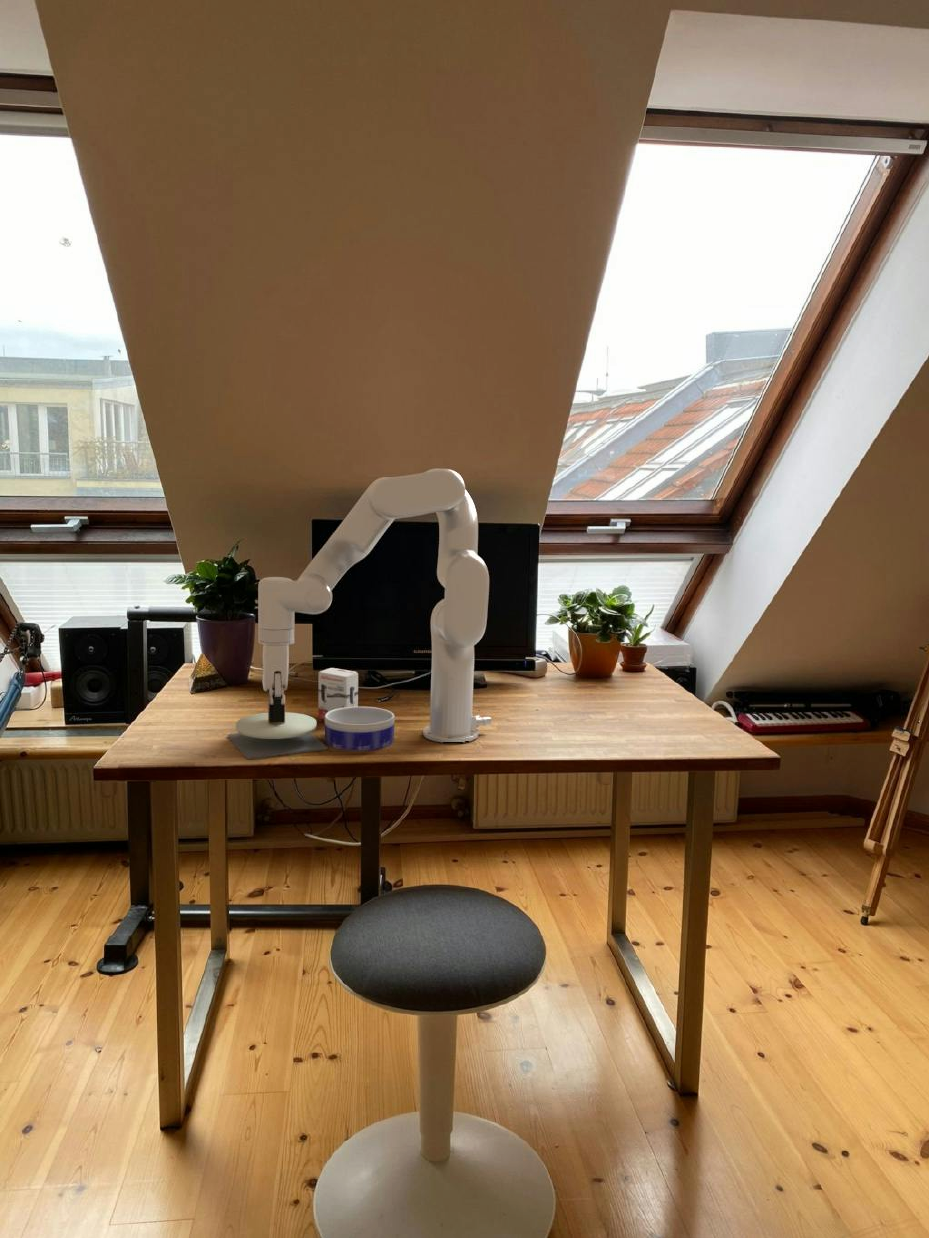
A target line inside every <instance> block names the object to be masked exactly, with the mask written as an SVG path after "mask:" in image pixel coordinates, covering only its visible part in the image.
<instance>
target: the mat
mask: <svg viewBox="0 0 929 1238" xmlns="http://www.w3.org/2000/svg"><path fill="white" fill-rule="evenodd" d="M227 737H228V739H229V740H230V741H231V742H232V744H234V745H235V747H236V748H237V749H238V750H239V751H240V752H241V754H242V755H243V756H244V757H245V758H246V760H256V759H262V758H270V757H279V756H278V755H280V756H287V755H286V754H288V755H295V753H296V754H302V753H304V754H305V753H310V752H319V751H327V750H328V746H327V745H325V744H324V743H323V741H320V739H319V738H317V737H316V736H315V735H314V734H312V732H311V733H309V734H306V735H303V736H298V737H293V738H284V739H262V738H254V737H249V736H245V735H242V734H240V733H239V732H237V733H229V734H227Z"/></svg>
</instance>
